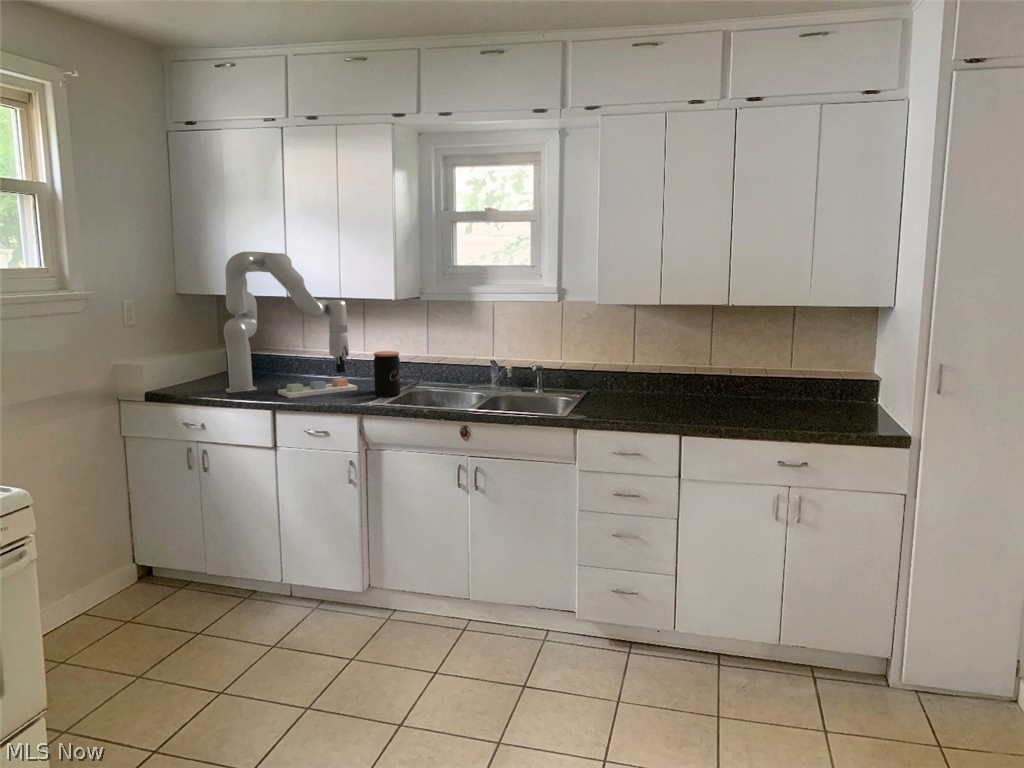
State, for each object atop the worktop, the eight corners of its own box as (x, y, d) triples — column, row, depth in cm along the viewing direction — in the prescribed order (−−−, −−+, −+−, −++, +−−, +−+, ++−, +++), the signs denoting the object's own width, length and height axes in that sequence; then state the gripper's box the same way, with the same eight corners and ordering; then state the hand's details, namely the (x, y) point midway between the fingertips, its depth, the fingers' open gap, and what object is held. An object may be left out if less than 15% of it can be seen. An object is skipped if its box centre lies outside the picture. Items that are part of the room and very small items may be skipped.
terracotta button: (332, 388, 325) (332, 379, 325) (343, 387, 328) (342, 378, 328) (337, 390, 322) (337, 381, 321) (348, 389, 325) (348, 379, 324)
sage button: (287, 393, 313) (286, 384, 313) (298, 392, 316) (298, 383, 316) (291, 395, 310) (291, 386, 309) (303, 394, 313) (303, 384, 312)
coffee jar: (393, 398, 312) (391, 354, 309) (370, 396, 316) (368, 353, 313) (404, 393, 322) (403, 351, 319) (382, 392, 326) (381, 350, 322)
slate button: (310, 391, 319) (309, 381, 319) (321, 389, 322) (321, 380, 322) (315, 393, 316) (314, 383, 315) (326, 391, 319) (325, 382, 318)
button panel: (278, 396, 315) (277, 389, 314) (345, 388, 333) (344, 382, 332) (289, 401, 306) (288, 394, 305) (357, 393, 324) (357, 386, 323)
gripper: (322, 329, 324) (325, 371, 327) (337, 331, 312) (340, 375, 316) (338, 327, 329) (341, 369, 332) (354, 330, 317) (356, 373, 320)
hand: (340, 372), depth 324 cm, fingers closed
